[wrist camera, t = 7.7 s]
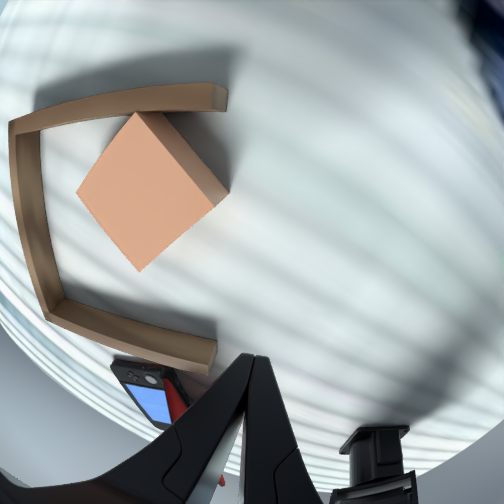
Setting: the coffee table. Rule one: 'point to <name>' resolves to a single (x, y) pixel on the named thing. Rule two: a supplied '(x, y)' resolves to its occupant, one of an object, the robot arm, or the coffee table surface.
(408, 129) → the coffee table surface
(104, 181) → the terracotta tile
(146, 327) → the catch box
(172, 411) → the handheld game console
